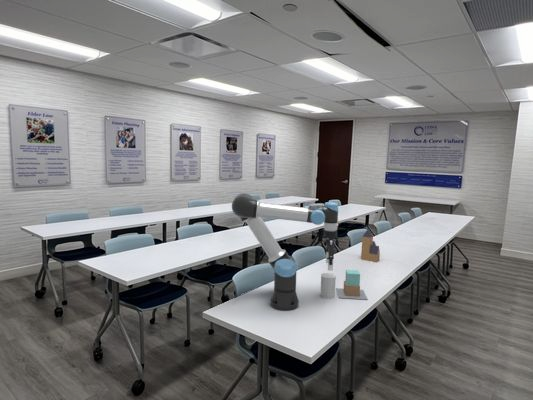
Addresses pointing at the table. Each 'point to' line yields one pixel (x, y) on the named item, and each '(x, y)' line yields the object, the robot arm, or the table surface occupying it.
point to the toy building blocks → (369, 248)
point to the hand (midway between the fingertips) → (329, 266)
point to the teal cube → (352, 278)
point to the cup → (327, 285)
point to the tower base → (342, 296)
